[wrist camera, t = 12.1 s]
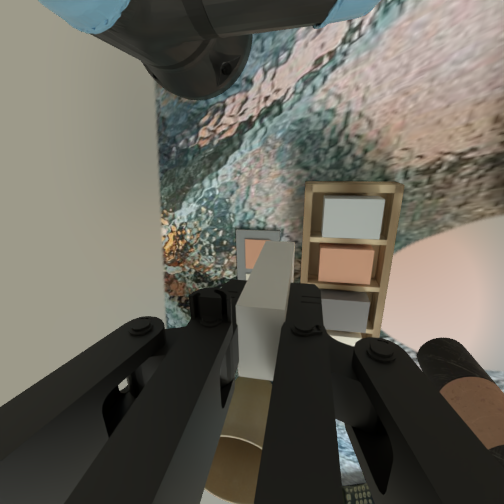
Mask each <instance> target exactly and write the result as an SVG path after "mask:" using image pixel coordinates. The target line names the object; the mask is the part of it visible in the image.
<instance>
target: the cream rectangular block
mask: <svg viewBox="0 0 504 504" xmlns="http://www.w3.org/2000/svg"><path fill="white" fill-rule="evenodd" d="M326 331H327V333H328V334H329V335H330V336H331V337H332V338H334V339H335V340H337V341H339V342H342V343H344V344H347V345H351V346H355V343H356V342H357V341H359V340H360V339H362V336H361V333H358V332H347V331H337V330H327V329H326Z"/></svg>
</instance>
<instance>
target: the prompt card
mask: <svg viewBox="0 0 504 504" xmlns="http://www.w3.org/2000/svg"><path fill="white" fill-rule="evenodd" d="M266 241H280V231H274V230H246V229H236V249H237V277H238V280H248V278H249V276H250V274H251V272H252V270H253V267H254V265H255V263H256V261H257V259H258V257H259V255H260V252H261V250H262V248H263V246H264V244H265V242H266Z"/></svg>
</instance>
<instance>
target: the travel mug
mask: <svg viewBox="0 0 504 504" xmlns="http://www.w3.org/2000/svg"><path fill="white" fill-rule="evenodd" d="M417 358H418V362H419V364H420V367H421V369H422V371H423V373H424V374H425V375H426V376H427V378H428V379H429V380H430V381H431V382H432V384H433V385H434V386H435V387H436V388H437V390H438V391H439V392H440V393H441V394H442V396H443V397H444V398H445V399H446V400H447V401H448V403H449V404H450V405H451V406H452V407H453V409H454V410H455V411H456V412H457V413H458V415H459V416H460V417H461V418H462V419H463V421H464V422H465V423H466V424H467V425H468V426H469V428H470V429H471V430H472V431H473V432H474V434H475V435H476V436H477V437H478V438H479V440H480V441H481V442H482V443H483V444H484V446H485V447H486V448H487V449H488V450H489V451H490V453H491V454H492V455H493V456H494V457H495V459H496V460H497V461H498V462H499V463H500V465H501V466H502V467H503V468H504V393H503V392H502V391H501V389H500V388H499V387H498V386H497V385H496V383H495V382H494V381H493V380H492V379H491V378H490V376H489V375H488V374H487V373H486V372H485V371H484V369H483V368H482V367H481V366H480V365H479V364H478V363H477V361H476V360H475V359H474V358H473V357H472V355H470V353H469V352H468V351H467V350H466V349H465V348H464V346H463V345H462V344H460V343H459V342H457V341H456V340H453V339H450V338H436V339H432V340H430V341H428V342H426V343H425V344H423V345H422V346H421V348H420V349H419V351H418V355H417Z"/></svg>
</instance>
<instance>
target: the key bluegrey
mask: <svg viewBox="0 0 504 504" xmlns="http://www.w3.org/2000/svg"><path fill="white" fill-rule="evenodd" d="M384 204H385V199H384V198H382V197H380V196H357V195H324V199H323V213H322V227H321V233H322V237H328V238H354V239H379V238H380V232H381V225H382V218H383V211H384Z"/></svg>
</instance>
